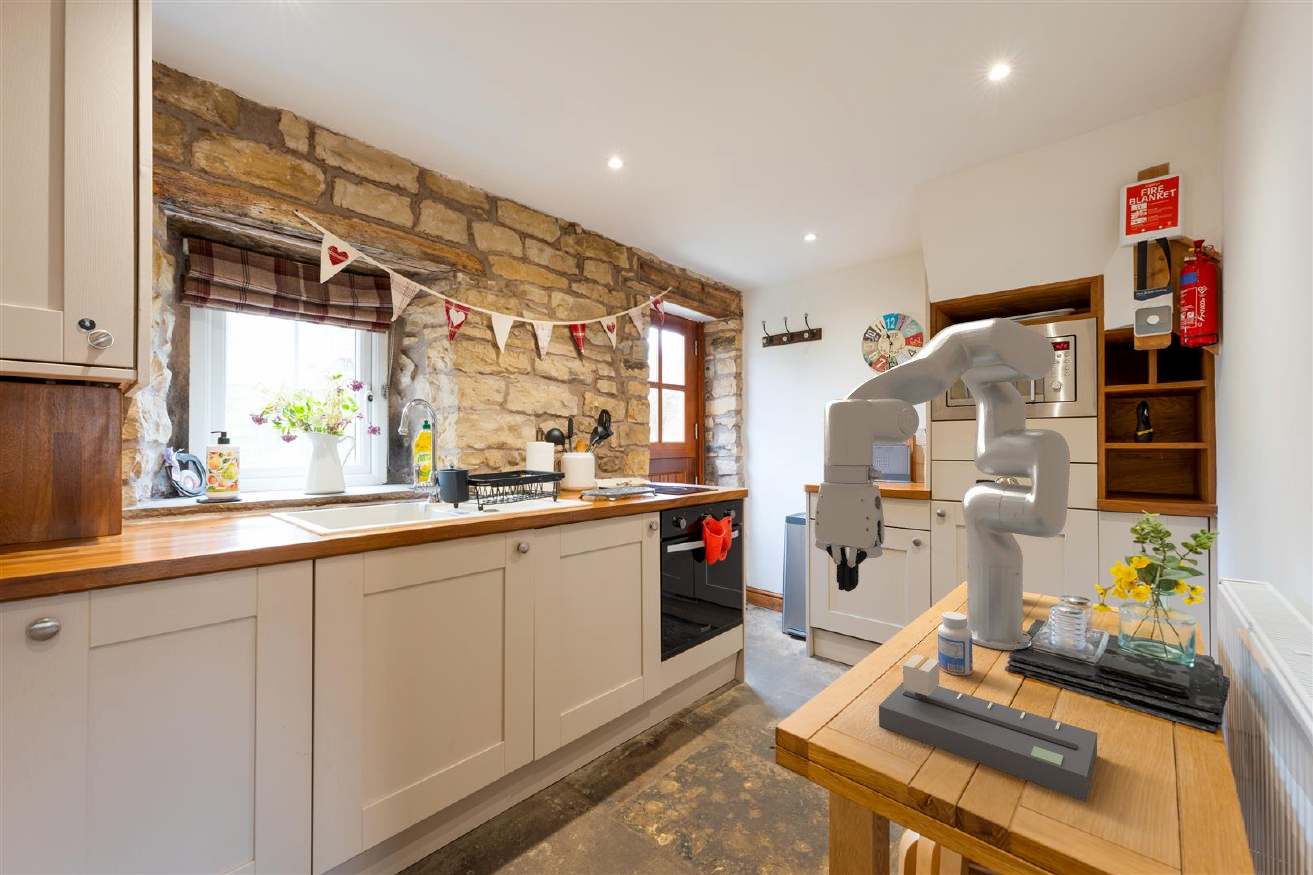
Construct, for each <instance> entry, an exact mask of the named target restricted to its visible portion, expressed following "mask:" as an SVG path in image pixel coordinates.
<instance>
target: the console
mask: <svg viewBox="0 0 1313 875" xmlns="http://www.w3.org/2000/svg"><path fill="white" fill-rule="evenodd" d="M878 726H879V727H881V728H884V729H887V730H890V731H893V732H895V733H897V734H899V735H902V736H906V737H908V738H910V739H914V740H916V741H919V742H923V743H925V744H927V745H930V746H933V747H936V748H938V749H940V750H944V751H947V752H949V753H952V754H954V755H958V756H960V757H962V758H965V759H968V760H971V761H974V762H976V763H979V764H982V765H984V766H986V767H987V766H988V767H991V768H993V769H996V770H998V771H1002V772H1004V773H1007V774H1009V775H1012V776H1015V777H1017V778H1019V779H1020V778H1021V779H1022V780H1026V781H1028V782H1031V783H1034V784H1036V785H1039V786H1041V787H1044V788H1047V789H1051V790H1053V791H1056V792H1058V793H1060V794H1064V795H1067V796H1069V797H1071V798H1075V799H1078V800H1080V801H1083V802H1085V803H1087V802H1088V798H1089V794H1090V793H1089V792H1090V788H1091V783H1092V779H1093V774H1094V770H1095V765H1096V761H1097V757H1098V732H1096V731H1093V730H1090V729H1085V728H1081V727H1078V726H1076V725H1072V724H1068V723H1065V722H1062V721H1058V720H1055V719H1051V718H1048V717H1044V716H1042V715H1038V714H1034V713H1031V712H1028V711H1024V710H1020V709H1018V708H1015V707H1011V706H1008V705H1004V704H1001V703H999V702H998V703H997V702H993V701H990V700H987V699H983V698H981V697H977V696H973V695H970V694H967V693H964V692H960V691H958V690H957V691H956V690H953V689H950V688H946V687H943V686H940V685H938V686H937V687H936V688H935V689H934V691H933V692H932V693H931V694H930V695H929V696H927V698H926V699H922V698H919V697H916V696H915V692H913V691H910V690H907V689H904V688H903V681H902V682H901V683H900V684H899V685H898V686H897V687H896V688H895V689H894V690H893V691H892V692H891V693H890V694H889V695H888V696H887V697H886V698H885V699H884V700H883V701H882V702H881V703H880V704H879V705H878Z"/></svg>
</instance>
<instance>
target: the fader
mask: <svg viewBox="0 0 1313 875" xmlns="http://www.w3.org/2000/svg"><path fill="white" fill-rule="evenodd" d="M902 669H903V672H902V676H903V677H902V680H903V681H902V682H903V688H904V689H907V690H910V691H913V692H915V696H916V697H919V698H922V699H926V698H927V696H929V695H930V694H931V693H932V692H933V691H934V689H935V688H936V687H937V686H940V667H939V661H938V659H933V658H931V657H929V656H923V655H920V654H919V655H918V654H913V656H911V657H910V659H908V660H907V661H906V662H905V663H904V664H903V667H902Z"/></svg>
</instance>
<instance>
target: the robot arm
mask: <svg viewBox="0 0 1313 875" xmlns="http://www.w3.org/2000/svg"><path fill="white" fill-rule="evenodd" d="M1055 361H1056V352H1055V349H1054V346H1053V344H1052V342H1051V341H1050V340H1049V338H1047V336H1045V335H1044V334H1042V333H1040V332H1039V331H1036V330H1034V329H1033V328H1030V327H1029V326H1027V325H1024V324H1022V323H1020V322H1017V321H1014V320H1012V319H1008V318H1003V317H994V318H988V319H981V320H975V321H968V322H963V323H962V322H961V323H957V324H953V325H951V326H947V327H945V328H943V329H942V330H940V331H939V332H938V333H936V335H934V336H933V337H932V338H931V339H930V340H929V341H928V342H927V343H926V344H924V346H922V347H921V348H920V349H919V350H918V351H917V352H916V353H915V354H914V355H913V356H911V357H910V358H909V359H908V360H906V361H905V362H903V363H900V364H898V365H895V366H893V367H892V368H890V369H888V370H886V371H884V372H881V373H879V374H878V375H876V376H874V377H872V378H869V379H867V380H866V381H864V382H862V383H861V384H859V385H858V386H856V387H855V388H854V389H853V390H851V391H850V392H849V393H847V395H846V396H845V397H844V398H842V399H841V398H839V399H832V400H829V401H828V402H826V404H825V406H824V409H823V410H824V413H823V418H824V419H823V482H821V483H819V488H818V492H817V497H816V503H815V510H814V511H815V512H814V536H815V539H816V541H815V543H814V545H815V547H816V549H819V550H821V551H823V552H827V553H828V555H829V556H830V557H831V558H832V560H833V563H834V564H835V565H836V583H837V584H838V591H844V592H848V593H849V592H852V591H853V590H855V589H857V586H858V585H859V581H860V580H859V579H860V577H859V576H860V575H859V566H860V565H861V564H862V563H863V562H864V561H866V559H874V558H875V559H876V558H880V557H882V556H883V550H882V545H883V544H884V542H885V519H884V508H883V502H882V496H881V494H882V493H881V491H880V485H877V484H874V482H875V481H876V480H878V479H879V480H881V479H882V477H883V472H882V470H877V469H876V468H875V465H874V444H875V445H896V444H897V445H898V444H901V443H905V442H907V441H909V440H911V439H912V438H913V437H914V436H915V434H916V433H917V431H918V428H919V425H920V416H919V413H918V410H916V408H915V407H914V406H916V405H920V404H924V403H926V402H930V401H933V400H936V399H938V398H940V397H941V396H943V395H944V394H945V393H947V392H948V391H949V390H950V388H951V387H953V385H954V384H956V382H957V381H958V380H959V379H960V380H962V382H963V383H964V384H965V386H966V387H967V389H968V390H969V391H970V394H971V396H972V398H973V400H974V403H975V408H976V416H975V417H976V420H975V433H974V449H973V450H974V454H973V457H974V458H973V461H974V465H975V467H976V469H977V470H978V471H979V472H980V473H982V474H985V475H990V476H994V477H995V476H996V477H1007V478H1008V477H1009V478H1020V479H1030V481H1031V485H1025V484H1015V483H1006V482H996V481H995V482H983V483H977V484H976V483H973V484H972V485H970V486H968V487H967V488H966V490H964V492H963V495H962V498H961V511H962V515H963V520H964V525H965V531H966V542H967V545H966V547H967V560H966V561H967V562H966V564H967V567H966V569H967V584H966V585H967V588H966V590H967V599H966V600H967V602H966V604H967V626H966V627H967V628H969V629H970V630H971V632H972V644H975V645H978V646H981V647H986V648H989V649H994V650H1003V651H1015V650H1014V648H1015V647H1017V646H1019V645H1020V643H1022V642H1029V639H1030V638H1032V636H1031V635H1030V634H1028V633H1027V632H1026V631H1024V630H1023V627H1024V626H1023V625H1024V620H1023V618H1024V617H1023V615H1024V614H1023V613H1024V610H1023V609H1024V605H1023V604H1024V599H1023V598H1024V597H1023V596H1024V592H1023V591H1024V588H1023V587H1024V585H1023V582H1024V581H1023V580H1024V555H1023V551H1022V548H1021V546H1020V545H1019V543H1018V541H1017V539H1016V538H1015V537H1014V535H1013V534H1016V535H1023V536H1030V537H1036V538H1045V539H1047V538H1049V539H1050V538H1054V537H1057V536H1058V535H1059V534H1061V532H1063V530H1064V528H1065V525H1066V521H1067V516H1068V515H1067V514H1068V506H1069V505H1068V504H1069V502H1068V500H1069V488H1070V473H1071V472H1070V469H1071V453H1070V452H1071V451H1070V447H1069V445H1068V442H1067V440H1066V438H1065V437H1064V436H1063V434H1061V433H1059V432H1058V431H1056V430H1053V429H1046V428H1027V427H1026V418H1027V405H1026V404H1027V403H1026V401H1025V399H1024V397H1023V395H1022V394H1021V393H1020V392H1019V390H1018V389H1017V388H1015V386H1014V385H1013V384H1012V382H1013V383H1015V382H1029V381H1036V380H1040V379H1043V378H1045V377H1046V376H1047V375H1049V373H1051V372H1052V370H1053V367H1054V366H1055V363H1056V362H1055ZM847 548H849V551H847Z"/></svg>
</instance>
